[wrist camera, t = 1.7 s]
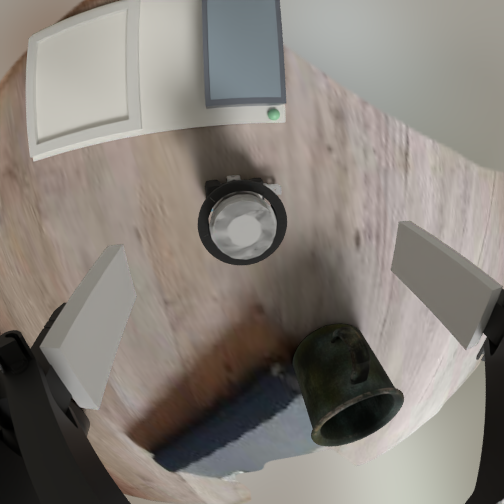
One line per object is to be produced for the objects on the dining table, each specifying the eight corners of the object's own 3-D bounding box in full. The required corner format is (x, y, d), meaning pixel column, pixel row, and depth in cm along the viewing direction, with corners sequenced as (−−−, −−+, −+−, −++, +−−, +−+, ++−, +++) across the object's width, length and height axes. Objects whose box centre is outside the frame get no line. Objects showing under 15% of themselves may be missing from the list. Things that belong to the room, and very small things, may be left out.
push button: (276, 158, 24) (313, 179, 15) (278, 215, 26) (312, 264, 17) (200, 165, 24) (190, 190, 15) (207, 222, 26) (203, 277, 17)
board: (37, 160, 21) (30, 162, 19) (35, 36, 15) (29, 33, 13) (283, 122, 23) (286, 122, 22) (275, -12, 17) (278, -17, 16)
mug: (290, 385, 37) (310, 455, 27) (283, 307, 31) (314, 392, 20) (359, 366, 38) (391, 428, 27) (371, 287, 32) (425, 354, 21)
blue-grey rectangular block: (206, 108, 21) (205, 106, 18) (202, -2, 16) (201, -15, 14) (279, 105, 21) (286, 103, 19) (272, -3, 17) (278, -15, 14)
